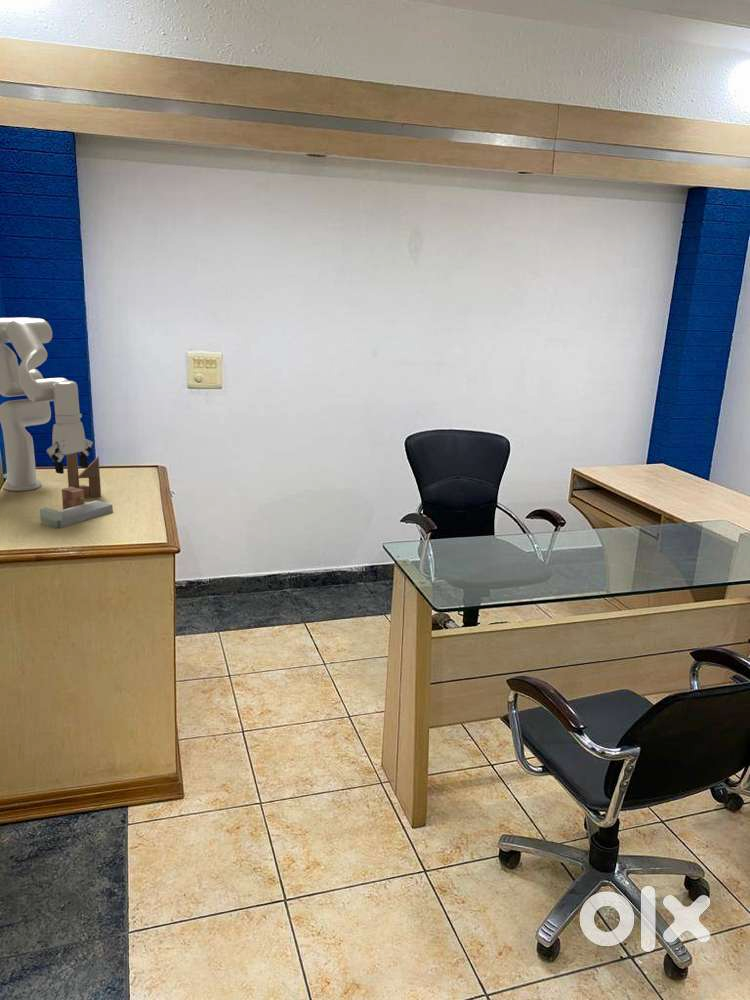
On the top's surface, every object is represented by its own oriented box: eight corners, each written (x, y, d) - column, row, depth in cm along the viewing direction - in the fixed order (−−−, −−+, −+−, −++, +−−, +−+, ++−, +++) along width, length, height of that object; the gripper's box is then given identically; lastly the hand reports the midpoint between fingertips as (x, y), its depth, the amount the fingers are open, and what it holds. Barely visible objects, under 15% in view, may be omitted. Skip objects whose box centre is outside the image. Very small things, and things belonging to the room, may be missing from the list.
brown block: (63, 509, 267) (61, 489, 264) (72, 506, 270) (71, 486, 268) (80, 514, 262) (78, 493, 260) (89, 511, 266) (88, 491, 264)
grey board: (40, 523, 252) (39, 508, 250) (96, 507, 270) (95, 493, 268) (57, 528, 248) (56, 513, 246) (112, 511, 266) (112, 497, 265)
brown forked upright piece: (100, 497, 281) (97, 447, 275) (68, 498, 278) (64, 448, 273) (101, 494, 284) (98, 445, 279) (69, 495, 281) (65, 445, 276)
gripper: (81, 414, 267) (85, 463, 271) (37, 421, 252) (42, 473, 257) (97, 416, 263) (100, 466, 268) (52, 424, 249) (57, 477, 253)
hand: (72, 470), depth 262 cm, fingers open, 9 cm apart
